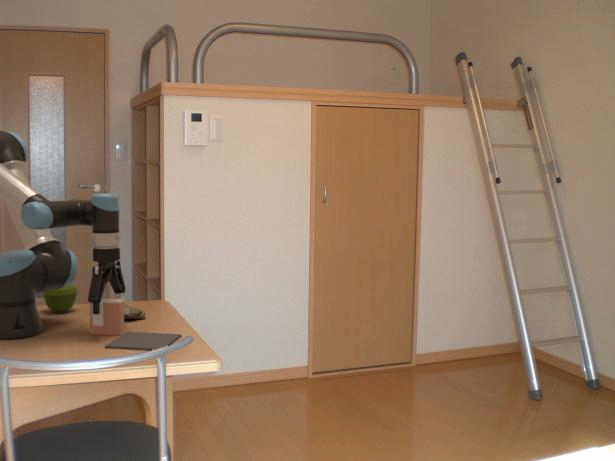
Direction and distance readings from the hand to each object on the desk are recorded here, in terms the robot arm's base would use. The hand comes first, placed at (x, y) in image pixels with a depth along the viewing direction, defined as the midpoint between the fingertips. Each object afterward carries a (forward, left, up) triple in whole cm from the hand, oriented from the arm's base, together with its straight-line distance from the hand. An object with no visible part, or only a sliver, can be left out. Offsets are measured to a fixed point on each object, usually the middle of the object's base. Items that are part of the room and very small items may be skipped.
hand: (108, 320), depth 201 cm
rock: (-2, +19, -4) cm, 20 cm away
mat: (+14, -7, -4) cm, 16 cm away
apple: (-27, +24, -4) cm, 37 cm away
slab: (0, 0, -4) cm, 4 cm away
